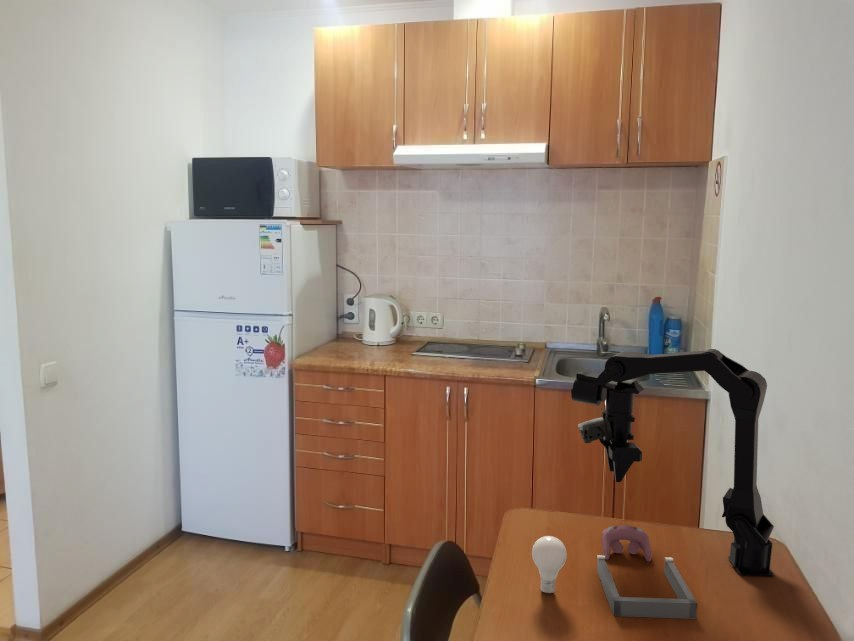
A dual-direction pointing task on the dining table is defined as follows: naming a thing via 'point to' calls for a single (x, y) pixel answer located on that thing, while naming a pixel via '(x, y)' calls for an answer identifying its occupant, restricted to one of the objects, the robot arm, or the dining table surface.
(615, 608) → the pocket
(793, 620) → the dining table surface
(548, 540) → the lightbulb
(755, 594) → the dining table surface
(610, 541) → the video game controller
